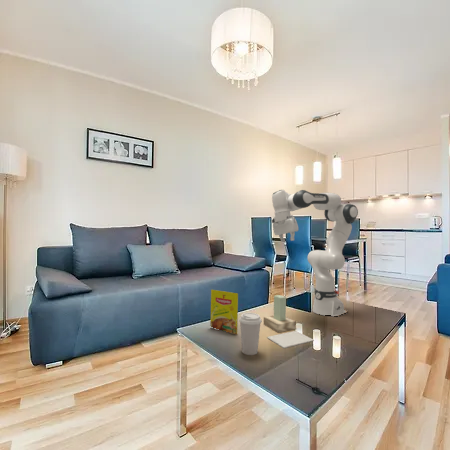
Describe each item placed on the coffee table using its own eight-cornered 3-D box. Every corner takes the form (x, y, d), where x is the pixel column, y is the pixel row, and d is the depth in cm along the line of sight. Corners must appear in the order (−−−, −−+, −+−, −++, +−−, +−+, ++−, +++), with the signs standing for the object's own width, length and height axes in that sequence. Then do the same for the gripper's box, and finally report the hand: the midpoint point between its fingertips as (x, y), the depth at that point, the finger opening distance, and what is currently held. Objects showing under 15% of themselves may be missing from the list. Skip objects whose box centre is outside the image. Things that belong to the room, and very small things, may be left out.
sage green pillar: (279, 317, 142) (279, 295, 142) (285, 320, 138) (285, 297, 138) (273, 318, 140) (273, 295, 140) (279, 321, 136) (280, 298, 136)
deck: (280, 321, 147) (280, 314, 147) (295, 328, 136) (296, 321, 136) (263, 324, 141) (263, 317, 141) (277, 332, 131) (277, 324, 131)
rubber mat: (295, 331, 132) (295, 330, 132) (313, 340, 122) (313, 339, 122) (266, 337, 124) (266, 336, 124) (283, 348, 113) (283, 347, 113)
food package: (209, 328, 134) (210, 289, 134) (210, 327, 135) (211, 289, 135) (236, 334, 127) (237, 293, 127) (237, 334, 128) (238, 293, 128)
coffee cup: (234, 348, 112) (235, 313, 113) (253, 344, 116) (254, 311, 116) (244, 358, 104) (245, 320, 104) (265, 354, 107) (266, 317, 108)
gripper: (298, 213, 143) (303, 238, 141) (278, 219, 162) (282, 241, 160) (288, 215, 140) (293, 240, 139) (269, 221, 159) (274, 243, 158)
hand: (287, 241), depth 150 cm, fingers open, 8 cm apart
